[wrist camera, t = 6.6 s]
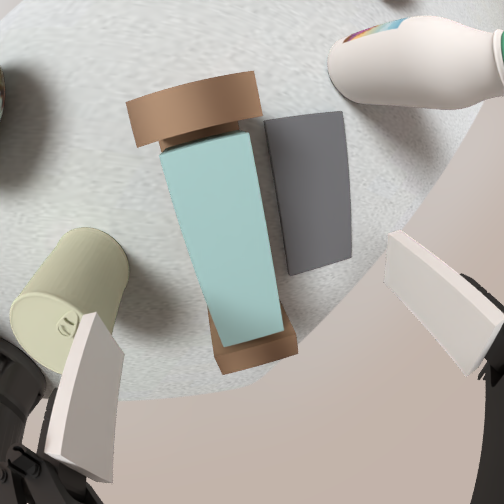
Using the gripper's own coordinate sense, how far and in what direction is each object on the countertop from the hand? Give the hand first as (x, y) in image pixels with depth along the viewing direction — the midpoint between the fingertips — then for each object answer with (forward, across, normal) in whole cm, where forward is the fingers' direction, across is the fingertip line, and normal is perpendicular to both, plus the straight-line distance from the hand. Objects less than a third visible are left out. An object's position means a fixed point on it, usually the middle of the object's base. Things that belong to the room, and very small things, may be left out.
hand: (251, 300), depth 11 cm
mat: (+17, +10, -3) cm, 19 cm away
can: (+17, -15, -4) cm, 23 cm away
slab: (+10, 0, -2) cm, 11 cm away
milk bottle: (+17, +17, +10) cm, 26 cm away
